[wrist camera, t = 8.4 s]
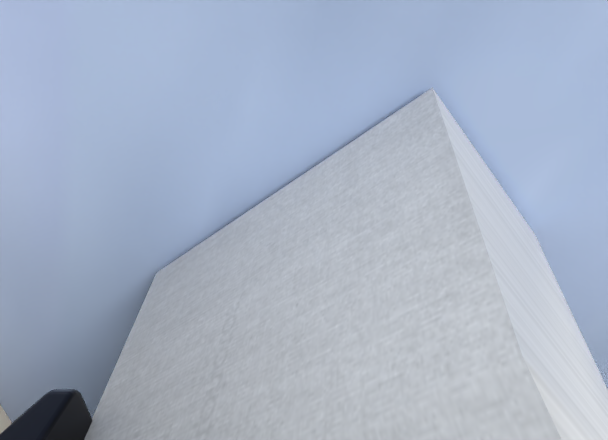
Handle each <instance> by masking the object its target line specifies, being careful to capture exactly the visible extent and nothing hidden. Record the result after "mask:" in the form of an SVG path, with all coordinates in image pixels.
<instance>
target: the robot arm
mask: <svg viewBox="0 0 608 440" xmlns="http://www.w3.org/2000/svg"><path fill="white" fill-rule="evenodd" d="M91 423H92V418H91V416H90V413H89V411H88V409H87V407H86V404H85V402H84V400H83V397H82V395H81V393H80V392H78V391H77V390H74V389H56V390H52V391H50V392H48V393H46V394H45V395H44V396H43V397H42V398H40V399H39V400H38V401H37V402H36V403H35V404H34V405H32V406H31V407H30V408H29V409H28V410H27V411H26V412H24V413H23V414H22V415H21V416H20V417H19V418H18V419H16V420H15V421H14V422H13V423H12V424H11V425H10V426H8V427H7V428H6V429H5V430H4V431H3V432H2V433H0V440H84V439H85V437H86V434H87V432H88V430H89V428H90V425H91Z"/></svg>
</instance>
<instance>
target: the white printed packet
mask: <svg viewBox="0 0 608 440" xmlns="http://www.w3.org/2000/svg"><path fill="white" fill-rule="evenodd" d="M84 440H608V389H607V387H606V385H605V383H604V381H603V379H602V376H601V374H600V372H599V370H598V368H597V366H596V364H595V361H594V359H593V357H592V355H591V353H590V351H589V349H588V347H587V344H586V342H585V340H584V338H583V336H582V334H581V332H580V330H579V327H578V325H577V323H576V321H575V319H574V317H573V315H572V313H571V310H570V308H569V306H568V304H567V302H566V300H565V298H564V296H563V293H562V291H561V289H560V287H559V285H558V283H557V281H556V278H555V276H554V274H553V272H552V270H551V268H550V266H549V264H548V261H547V259H546V257H545V255H544V253H543V251H542V249H541V247H540V244H539V242H538V240H537V238H536V236H535V234H534V233H533V231H532V230H531V228H530V227H529V225H528V224H527V222H526V221H525V220H524V218H523V217H522V215H521V214H520V212H519V211H518V210H517V208H516V207H515V205H514V204H513V202H512V201H511V200H510V198H509V197H508V195H507V194H506V192H505V191H504V190H503V188H502V187H501V185H500V184H499V182H498V181H497V179H496V178H495V177H494V175H493V174H492V172H491V171H490V169H489V168H488V167H487V165H486V164H485V162H484V161H483V159H482V158H481V157H480V155H479V154H478V152H477V151H476V149H475V148H474V147H473V145H472V144H471V142H470V141H469V139H468V138H467V136H466V135H465V134H464V132H463V131H462V129H461V128H460V126H459V125H458V124H457V122H456V121H455V119H454V118H453V116H452V115H451V114H450V112H449V111H448V109H447V108H446V106H445V105H444V104H443V102H442V101H441V99H440V98H439V96H438V95H437V93H436V92H435V91H434V89H433V88H431V89H429V90H428V91H426V92H425V93H423V94H422V95H420V96H419V97H418V98H416V99H415V100H413V101H412V102H410V103H409V104H407V105H406V106H404V107H403V108H401V109H400V110H398V111H397V112H395V113H394V114H392V115H391V116H389V117H388V118H386V119H385V120H383V121H382V122H380V123H379V124H377V125H376V126H374V127H373V128H371V129H370V130H368V131H367V132H365V133H364V134H362V135H361V136H359V137H358V138H356V139H355V140H353V141H352V142H350V143H349V144H347V145H346V146H344V147H343V148H341V149H340V150H339V151H337V152H336V153H334V154H333V155H331V156H330V157H328V158H327V159H325V160H324V161H322V162H321V163H319V164H318V165H316V166H315V167H313V168H312V169H310V170H309V171H307V172H306V173H304V174H303V175H301V176H300V177H298V178H297V179H295V180H294V181H292V182H291V183H289V184H288V185H286V186H285V187H283V188H282V189H280V190H279V191H277V192H276V193H274V194H273V195H271V196H270V197H268V198H267V199H265V200H264V201H262V202H261V203H259V204H258V205H257V206H255V207H254V208H252V209H251V210H249V211H248V212H246V213H245V214H243V215H242V216H240V217H239V218H237V219H236V220H234V221H233V222H231V223H230V224H228V225H227V226H225V227H224V228H222V229H221V230H219V231H218V232H216V233H215V234H213V235H212V236H210V237H209V238H207V239H206V240H204V241H203V242H201V243H200V244H198V245H197V246H195V247H194V248H192V249H191V250H189V251H188V252H186V253H185V254H183V255H182V256H180V257H179V258H177V259H176V260H175V261H173V262H172V263H170V264H169V265H167V266H166V267H164V268H163V269H161V270H160V271H158V272H157V273H156V275H155V277H154V279H153V282H152V284H151V286H150V288H149V291H148V293H147V295H146V297H145V300H144V302H143V304H142V306H141V309H140V311H139V313H138V315H137V318H136V320H135V322H134V325H133V327H132V329H131V331H130V334H129V336H128V338H127V340H126V343H125V345H124V347H123V349H122V352H121V354H120V356H119V359H118V361H117V363H116V365H115V368H114V370H113V372H112V374H111V377H110V379H109V381H108V383H107V386H106V388H105V390H104V392H103V395H102V397H101V399H100V402H99V404H98V406H97V408H96V411H95V413H94V415H93V417H92V423H91V425H90V428H89V430H88V432H87V434H86V437H85V439H84Z"/></svg>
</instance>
